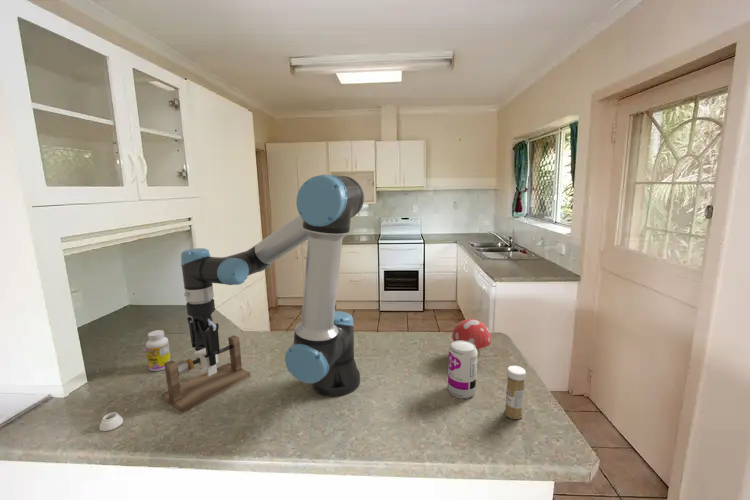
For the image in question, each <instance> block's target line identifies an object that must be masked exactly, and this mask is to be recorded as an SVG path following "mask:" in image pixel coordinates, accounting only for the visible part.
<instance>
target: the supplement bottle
mask: <svg viewBox="0 0 750 500" xmlns="http://www.w3.org/2000/svg"><path fill="white" fill-rule="evenodd" d="M147 338H148V340H147V341H146V343H145V348H146V355H147V363H148V364H147V365H148V368H149V371H151V372H160V371H165V364H164V363H166V362H169V361H171V360H172V359H171V352H170V344H169V343H170V342H169V339H168V338H167V336H165V331H164V329H163V330H162V329H158V330H157V329H156V330H152V331H150V332H148V334H147Z"/></svg>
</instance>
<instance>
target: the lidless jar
mask: <svg viewBox="0 0 750 500" xmlns="http://www.w3.org/2000/svg"><path fill="white" fill-rule="evenodd" d="M123 423H124V418H123V417H122V416H121V415H120V414H119V413H118V412H116V411H115V412H114V411H113V412H109V413H106V414H105V415H104V416H103V417H102V420H101V421H100V425H99V427H98V428H99V431H101V432H109V431H112V430H114V429H116V428H119V427H120V426H122V424H123Z"/></svg>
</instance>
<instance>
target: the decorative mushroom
mask: <svg viewBox="0 0 750 500" xmlns="http://www.w3.org/2000/svg"><path fill="white" fill-rule="evenodd" d="M451 339H452V340H453V342H454V341H459V340H463V341H468V342H471V343H473V344H474V345H475V347H476V349H477V352H478V354H477V360H478V359H479V358H480V357H481V356H482V355H481V353H482V351H481V349H484V348H487V347H488V346H489V345H491V343H492V336H491V332H490V330H489V328H488V327H487V326H486V325H485V323H483V322H482V321H480V320H479V319H478V320H477V319H473V318H470V319H469V318H467V319H464V320H461V321H460V322H458V323H457V324H456V325H455V326H454V329H453V331H452V335H451ZM489 347H490V346H489Z"/></svg>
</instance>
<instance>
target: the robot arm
mask: <svg viewBox="0 0 750 500" xmlns="http://www.w3.org/2000/svg"><path fill="white" fill-rule="evenodd" d="M364 202H365V193H364V190H363V187H362V186H361V185H360V183H359V182H357V180H355V178H352V177H350V176H346V175H345V176H344V175H331V174H319V175H315V176H312V177H310V178H308V179H307V180H306V181H305V182H303V183H302V185H301V186H300V187H299V189H298V192H297V195H296V203H295V205H296V210H297V212H298V215H297V216H295V217H294V218H293V219H291V220H290V221H287V223H285V224H284V225H282V226H281V227H280V228H278V229H277V230H275V231H274V232H272V233H271V234H269V235H268V236H266V237H265V238H264V239H262V240H260V241H259V242H258V243H256V244H255V245H254V246H252V247H251V248H249V249H248V250H246V251H242V252H238V253H236V254H231V255H229V256H223V257H220V256H218V257H216V256H211V254H210V250H209V249H207V248H203V247H202V248H201V247H200V248H199V247H198V248H189V249H185V250H183V251H182V252H181V254H180V267H181V272H182V280H183V287H184V293H183V295H184V297H185V301H186V303H185V304H186V314H187V315H188V317H187V318H186V319H187V324H188V326H189V327H188V328H189V333H190V342H191V347H192V348H194V349H195V352H196V351H199V350H201V349H203V348H206V353H207V355H205V358H206V367H207V368H204V369H202V368H200V367H198V371H199V373H201V372H204V371H206V373H207V376H211V375H213V374H215V373H217V368H218V367H217V363H216V357H215V355H216V354H218V353H220V340H219V339H220V338H219V336H220V335H219V328H220V327H219V326H220V325H219V323H218V322H216V323H214V320H213V317H212V314H213V313H214V312H215V311H216V306H215V305H216V304H215V299H214V298H215V296H214V295H215V294H214V286H213V284H220V285H226V286H234V285H236V286H238V285H241V284H243V283H245V280H248V277H249V276H251V275H253V274H257V273H260V272H263V271H264V270H266V269H268V268H269V267H270V266H271V264H272V263H274V262H276V261H277V260H278V259H280V258H282V257H283V256H285V255H286V254H288V253H289V252H291V251H292V250H295V248H297V247H299V246H301V245H302V244H303V243H305V242H306V241H307V249H306V259H305V261H306V262H305V272H304V282H303V283H304V285H303V296H302V297H303V298H302V307H301V308H302V309H301V321H300V322H298V323H297V324H296V326H295V327H294V335H293V344H292V345H291V346H290V347H288V348H287V351H286V352H285V356H284V361H285V367H286V368H287V370H288V372H289V373H291V375H292V376H293V377H294V378H295V379H296V380H298V381H299V382H302V383H305V384H311V385H312V388H313V389H314V391H315V392H317V393H318V394H321V395H323V396H327V397H338V396H339V397H340V396H345V395H347V394H350V393H352V392H354V391H355V390H357V389H358V387H359V386H360V384H361V375H360V371H359V369H358V367H357V363H356V360H355V339H354V338H355V337H354V335H355V332H354V331H355V330H354V326H355V323H354V318H353V315H352V314H350V313H348V312H345V311H341V310H336V305H337V297H338V296H337V294H338V285H339V276H340V275H339V274H340V266H341V265H340V264H341V256H342V247H343V239H344V238H345V237H346V236H347V235H349V234H350V228H351V219H352V218H353V217H355V216H356V215H358V214H359V213H360V212H361V210H362V208H363V205H364ZM220 354H221V353H220ZM218 355H219V354H218Z"/></svg>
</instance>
